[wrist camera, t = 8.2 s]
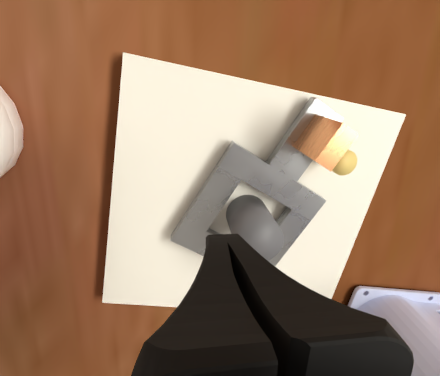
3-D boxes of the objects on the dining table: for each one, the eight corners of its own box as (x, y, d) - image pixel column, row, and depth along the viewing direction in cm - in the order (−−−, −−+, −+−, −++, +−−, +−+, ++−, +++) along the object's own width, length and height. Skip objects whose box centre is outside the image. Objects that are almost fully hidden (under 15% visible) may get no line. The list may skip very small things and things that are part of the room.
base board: (396, 112, 22) (455, 123, 17) (319, 307, 28) (348, 355, 23) (125, 53, 18) (108, 47, 13) (105, 293, 24) (87, 346, 19)
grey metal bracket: (259, 276, 24) (275, 317, 20) (170, 234, 21) (169, 271, 17) (366, 138, 21) (410, 154, 17) (276, 70, 18) (303, 70, 14)
